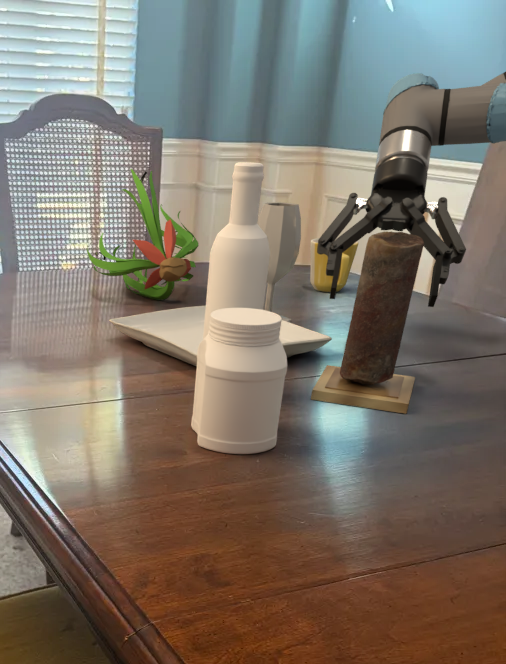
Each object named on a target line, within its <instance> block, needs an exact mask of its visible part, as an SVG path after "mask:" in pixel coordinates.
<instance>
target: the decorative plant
mask: <svg viewBox="0 0 506 664" xmlns="http://www.w3.org/2000/svg"><path fill="white" fill-rule="evenodd" d="M129 169H130V172H131V175H132V179H133V182H134V184H135V187H136V190H137V193H138V197H139V200H140V202H138V200H137V198H136V196H135V194H133V193H132V192H131V191H129V190H128V189H126V188H122V189H121V192H122V191H123V192H125V193H126V194H127V196H129V197H130V198H131V199H132V201H133V202H134V203H135V205H136V207H137V209H138V210H139V212H140V215H141V217H142V219H143V222H144V225H145V227H146V230H147V232H148V235H149V237H150V240H151V242H150V241H147V240H144V239H143V240H142V239H131V240H132V242H133V243H134V244H135V245H134V248H133V252H132V258H120V257H118V256H116V254H117V252H118V250H119V248H120V247H121V244H120V245H117V246H116V247H115V248H114V249H113V251H112V254H111V253H110V252H108V250H107V249H106V247H105V245H104V241H103V237H104V236H105V234H104V233H103V232H102V233H101V234H100V237H99V241H98V248H99V251H97V252H96V251H95V253H94V255H95V256H96V257H97V258H96V257H95V256H94V255H92V254H91V252H90V251H89V249H88V247H89V245H87V246H86V253H87V256H88V259H89V260H90V262H91V263H92V265H93V270H94V271H95V272H97V273H99V274H101V275H104V276H108V277H121V276H122V280H123V282H124V285H125V287H126V288H127V289H128V290H129V291H131V292H132V293H133V294H136V295H139V296H141V297H144V298H148V299H151V300H155V301H164V300H166V299H168V298H169V297H171V295H172V293H173V291H174V289H175V285H176V284H175V282H176V283H177V282H188V281H190V280H191V279H193V278H194V275H193V274H191V273H190V271H191V270H192V268H197V267H196V263H195V261H194V260H189V259H187V256H188V255H190V254H193V253H195V252H196V250H197V249H198V247H199V241H198V240H197V238H196V237H195V235H194V234H193V233H192V232H191V231H190V230H189V229H188V228H187V227H186V226H185V224H183V223H182V222H180V224H181V225H182V226H181V225H180V224H179V223H178V222H176V221H175V220H174V219H173V218H172V217H170V215H169V214H168V213H167V212H166V211H165V210H164V209H163V204H162V203H160V206H159V203H158V199H157V193H156V190H155V186H154V181H153V170H151V171H150V173H149V175H148V176H149V177H148V181H149V188H150V189H149V190H150V194H151V202H150V198H149V195H148V193H147V191H146V188H145V187H144V184H143V181H144V179H145V177H146V176H147V174H148V171H144V173H143V174H142V175H141V177H140V178H139V176H138V174H137V173H136V172H135V171H134V170H133V168H129ZM159 209H160V211H161V214H162V215H163V217H164V219H165V220H166V221H165V226H164V230H163V229H162V226H161V219H160V212H159ZM180 213H181V210H179V211H178V212H177V219H178V220H180ZM136 247H137V248H138V249H139V251H140V252H141V253H142V255H144V257H145V258H146V259H145V258H143V259H142V258H136ZM175 248H177V249H179V251H178V252H177V253H176V252H175ZM98 254H100V255H102V256H103V258H102V259H101V258H98V257H99V255H98ZM173 254H175V255H173ZM106 259H109V260H112V261H107V260H106ZM96 267H97V268H99V269H102V270H106V271H108V272H102V271H101V272H100V271H98V270H97V268H96ZM155 268H156V269H155ZM151 269H154V270H153V271H152V272H151V273H150V274H149V276H148V270H151ZM142 271H145V272H144V275H143V272H142ZM130 274H133V275H134V276H135V277H137V280H136V279H134V278H132V277H131V276H129V275H130ZM147 277H148V278H147ZM182 278H183V279H182ZM161 281H164V282H163V283H160V282H161ZM144 283H145V284H144ZM159 283H160V285H158V284H159ZM163 285H164V286H163ZM131 288H133V289H135V290H136V291H134V290H133V289H131ZM137 291H138V292H137Z"/></svg>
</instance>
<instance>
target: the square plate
mask: <svg viewBox="0 0 506 664" xmlns="http://www.w3.org/2000/svg"><path fill="white" fill-rule="evenodd" d="M205 309H206V304H205V305H197V306H186V307H177V308H172V309H163V310H157V311H151V312H145V313H144V312H143V313H139V314H138V313H137V314H134V315H133V314H132V315H128V316H121V317H115V318H110V319H109V320H108V321H109V322H110V323H111V324H112V326H114V327H115V328H116V330H118V331H119V333H122V334H123V335H125V336H127V337H130V338H131V339H134V340H135V341H139V342H142V344H143V345H144V346H146V347H148V348H151V349H153V350H155V351H156V350H157V351H158V352H161V353H163V354H165V355H168V356H170V357H173V358H175V359H178V360H180V361H182V362H185V363H187V364H188V365H189V364H190V365H192V366H194V367H197V350H198V347H199V344H200V343H201V342H202V341H203V333H204V321H205ZM280 329H281V330H280V336H279V337H280V341H281V343H282V345H283V348H284V350H285V353H286V356H287V359H289V358H290V357H293V356H295V355H299V354H304V353H308V352H312V351H315V350H318V349H320V348H322V347H324V346H325V345H327V344H328V343H329V342H331V341H332V340H333V338H332V337H331V336H329V335H327V334H323V333H320V332H317V331H315V330H311V329H310V328H306V327H303V326H300V325H297V324H295V323H292V322H291V323H289V322H287V321H284V320H282V321H281V326H280Z"/></svg>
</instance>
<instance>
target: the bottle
mask: <svg viewBox="0 0 506 664" xmlns="http://www.w3.org/2000/svg"><path fill="white" fill-rule="evenodd" d="M264 168H265V165H264V164H263V163H262V162H253V161H251V162H250V161H238V162H236V163H235V164H234V166H233V172H232V174H231V179H232V187H231V198H230V208H229V219H228V223H227V224H226V225H224V227H223V228H222V229H221V230H220V231H219V232H217V233H216V236H215V238H214V241H213V243H212V245H211V249H210V250H209V251H210V252H209V262H208V263H209V264H208V273H207V274H208V276H207V287H206V299H205V305H206V309H205V321H204V333H203V339H204V338H205V337H206V336H207V335H208V332H209V326H210V323H209V322H210V314H211V313H212V312H213V311H215V310H219V309H224V308H252V309H260V310H264V308H265V300H266V292H267V284H268V283H267V274H268V266H269V258H270V249H269V243H268V239H267V235H266V234H265V233H264V232H263V230H262V229H261V228H260V226H259V225H258V224H257V222H258V217H259V214H260V212H259V211H260V204H261V203H260V202H261V195H262V186H263V181H264V179H265V173H264Z"/></svg>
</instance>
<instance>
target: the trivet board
mask: <svg viewBox="0 0 506 664" xmlns="http://www.w3.org/2000/svg"><path fill="white" fill-rule="evenodd" d="M340 369H341V366H337V365H329V364H327V365H326V366H325V367H324V369H323V371H322V373H321V374H320V375H319V377H318V379H317V381H316V382H315V385H314V386H313V387H312V390H311V395H310V400H312V401H317V402H318V401H319V402H324V403H329V404H331V403H332V404H336V405H337V404H338V405H343V406H352V407H359V408H365V409H371V410H379V411H385V412H391V413H398V414H403V415H404V414H405V415H406V414H407V413H408V409H409V406H410V401H411V397H412V393H413V389H414V384H415V381H416V377H415V376H411V375H404V374H403V375H402V374H396V373H393V378H391V379H389V380H386V381H384V382H382V383H376V384H374V385H366V384H361V383H359V382H355V381H352V380H350V379H344V378H342V377H341V375H340Z"/></svg>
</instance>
